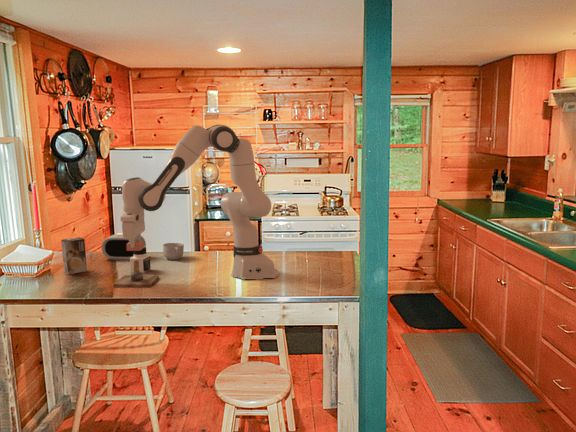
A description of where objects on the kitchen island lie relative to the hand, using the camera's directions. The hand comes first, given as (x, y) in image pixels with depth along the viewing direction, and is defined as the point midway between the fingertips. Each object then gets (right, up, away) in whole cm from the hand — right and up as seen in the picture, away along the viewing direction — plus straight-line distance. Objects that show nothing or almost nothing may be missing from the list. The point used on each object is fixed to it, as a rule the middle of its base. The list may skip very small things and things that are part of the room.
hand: (135, 245), depth 223 cm
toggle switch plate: (0, -17, +3) cm, 17 cm away
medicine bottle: (-4, -14, +22) cm, 26 cm away
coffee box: (-35, -14, +20) cm, 43 cm away
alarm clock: (-20, -10, +46) cm, 51 cm away
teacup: (+7, -10, +44) cm, 46 cm away
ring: (0, -2, 0) cm, 2 cm away
